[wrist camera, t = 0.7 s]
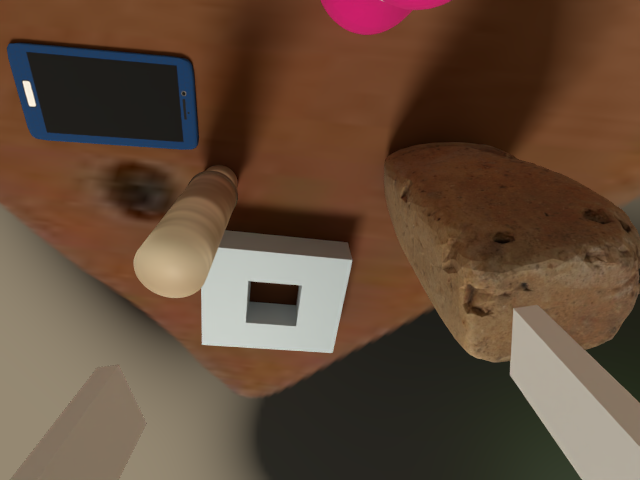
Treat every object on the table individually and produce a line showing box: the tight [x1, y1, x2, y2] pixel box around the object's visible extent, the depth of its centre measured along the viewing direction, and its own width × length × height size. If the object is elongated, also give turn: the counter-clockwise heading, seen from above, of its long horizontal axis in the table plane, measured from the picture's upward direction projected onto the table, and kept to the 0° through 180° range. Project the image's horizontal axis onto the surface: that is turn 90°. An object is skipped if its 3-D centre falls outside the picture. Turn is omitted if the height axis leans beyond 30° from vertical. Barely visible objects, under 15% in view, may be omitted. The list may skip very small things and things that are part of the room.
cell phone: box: [7, 43, 199, 149], centre depth 30 cm, size 7×14×1 cm, turn 85°
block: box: [384, 142, 640, 362], centre depth 26 cm, size 11×8×20 cm
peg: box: [134, 165, 238, 298], centre depth 27 cm, size 4×4×15 cm
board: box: [201, 230, 352, 353], centre depth 38 cm, size 12×14×4 cm
